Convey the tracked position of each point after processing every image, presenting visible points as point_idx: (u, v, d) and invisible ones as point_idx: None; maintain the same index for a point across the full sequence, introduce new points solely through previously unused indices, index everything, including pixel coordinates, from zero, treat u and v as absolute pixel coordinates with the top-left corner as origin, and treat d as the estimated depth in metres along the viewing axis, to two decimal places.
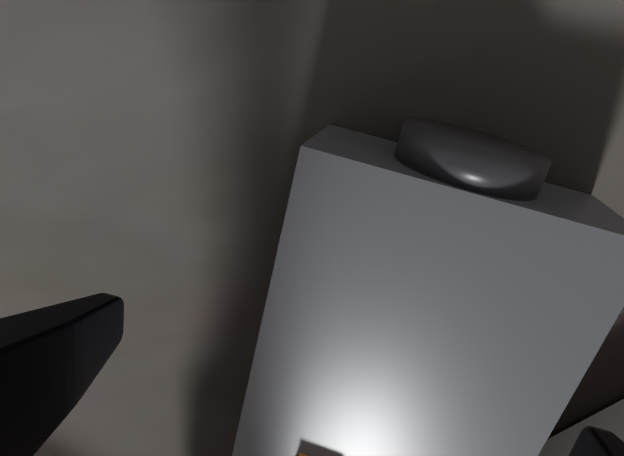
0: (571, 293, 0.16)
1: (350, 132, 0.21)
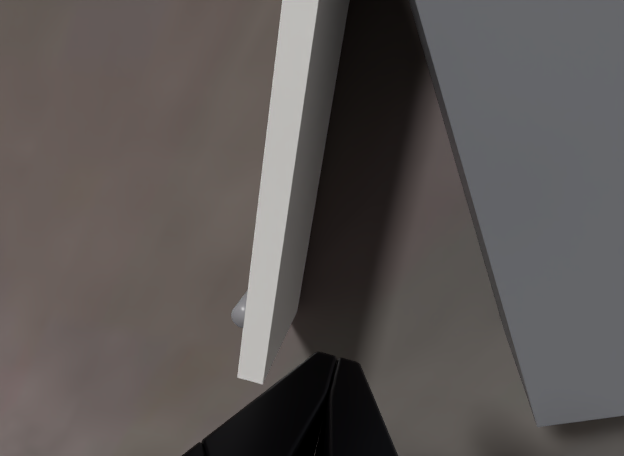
0: (578, 355, 0.14)
1: None
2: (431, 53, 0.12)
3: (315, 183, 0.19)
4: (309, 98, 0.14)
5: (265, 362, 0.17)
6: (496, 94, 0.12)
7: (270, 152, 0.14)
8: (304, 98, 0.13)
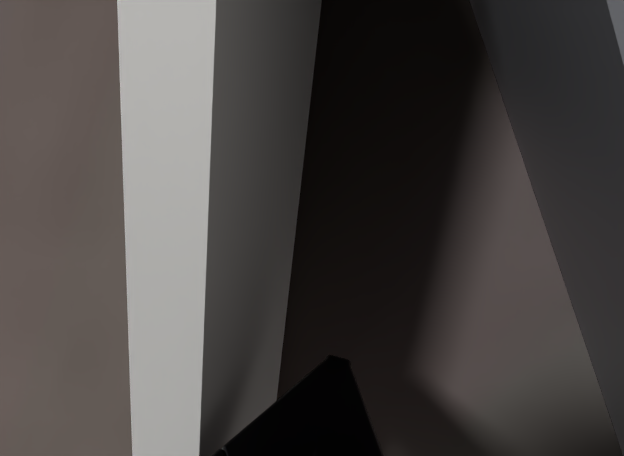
0: None
1: None
2: (618, 32, 0.04)
3: (282, 290, 0.11)
4: (233, 172, 0.06)
5: None
6: None
7: (142, 311, 0.06)
8: (211, 183, 0.05)
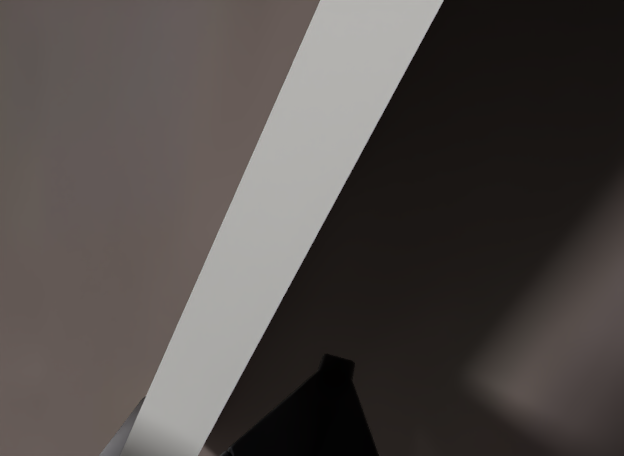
0: None
1: None
2: None
3: None
4: None
5: None
6: None
7: (206, 298, 0.06)
8: (331, 206, 0.05)
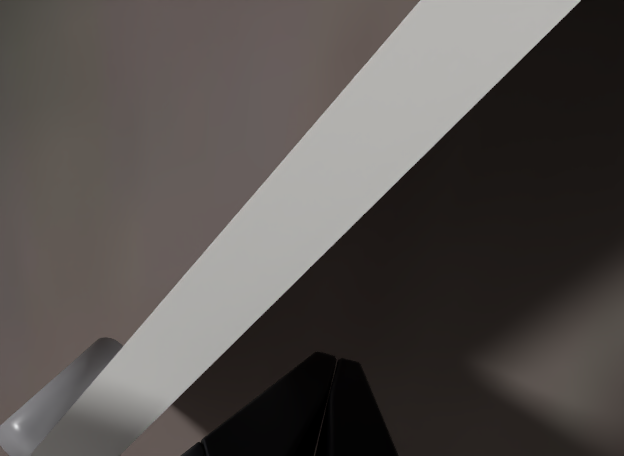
0: None
1: None
2: None
3: None
4: None
5: None
6: None
7: (210, 270, 0.05)
8: (363, 212, 0.05)
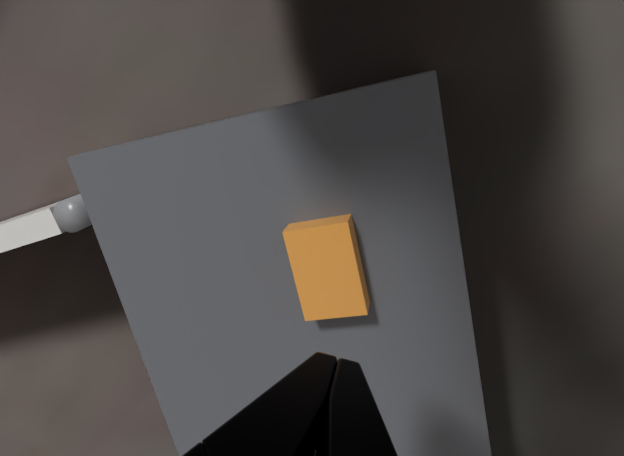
0: None
1: None
2: (142, 356, 0.17)
3: None
4: None
5: None
6: (184, 388, 0.17)
7: None
8: None
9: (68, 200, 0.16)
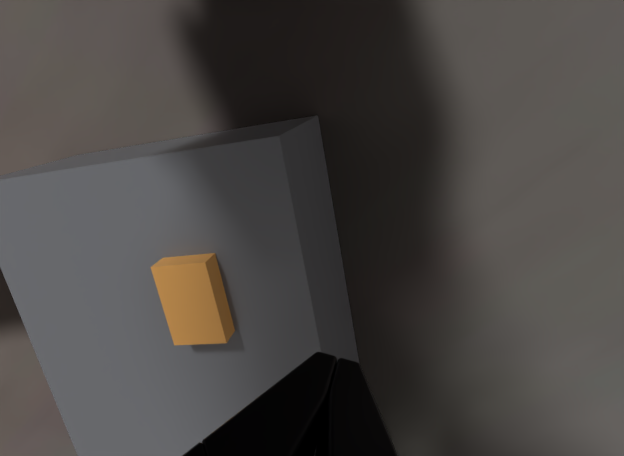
0: None
1: None
2: (41, 365, 0.19)
3: None
4: None
5: None
6: (79, 396, 0.19)
7: None
8: None
9: None
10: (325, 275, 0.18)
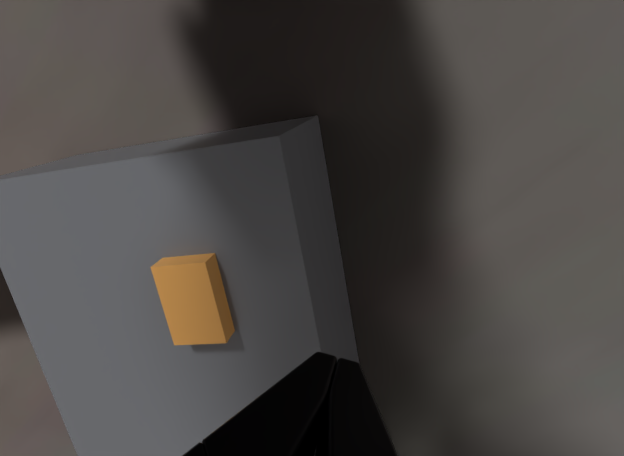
0: None
1: None
2: (41, 365, 0.19)
3: None
4: None
5: None
6: (79, 396, 0.19)
7: None
8: None
9: None
10: (325, 275, 0.18)
